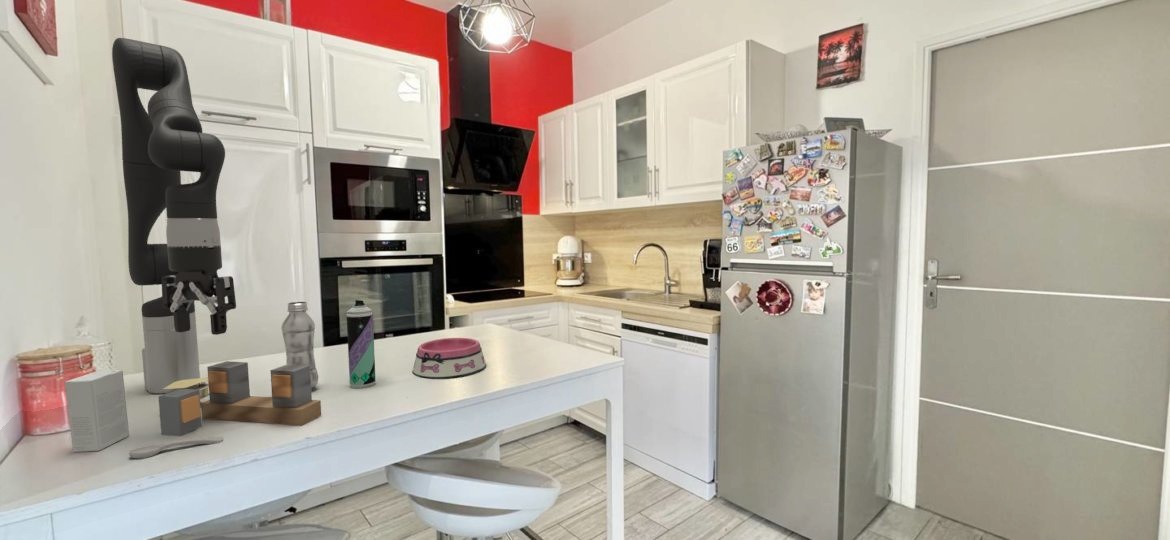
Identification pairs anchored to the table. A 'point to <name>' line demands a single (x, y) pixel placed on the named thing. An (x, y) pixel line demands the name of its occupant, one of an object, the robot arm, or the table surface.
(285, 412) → the rail
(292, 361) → the plastic bottle
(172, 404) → the grey block
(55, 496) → the table surface
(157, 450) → the spoon
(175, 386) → the stacked layers on plate
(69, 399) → the skincare box
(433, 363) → the dog bowl
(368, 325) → the spray can
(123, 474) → the table surface
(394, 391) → the table surface
